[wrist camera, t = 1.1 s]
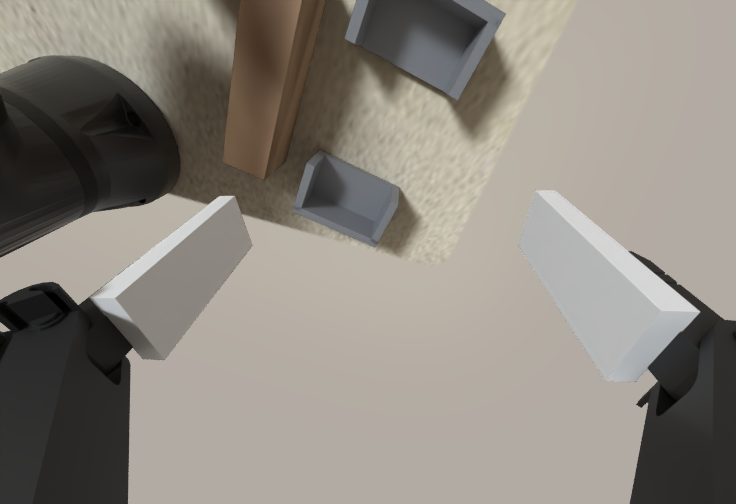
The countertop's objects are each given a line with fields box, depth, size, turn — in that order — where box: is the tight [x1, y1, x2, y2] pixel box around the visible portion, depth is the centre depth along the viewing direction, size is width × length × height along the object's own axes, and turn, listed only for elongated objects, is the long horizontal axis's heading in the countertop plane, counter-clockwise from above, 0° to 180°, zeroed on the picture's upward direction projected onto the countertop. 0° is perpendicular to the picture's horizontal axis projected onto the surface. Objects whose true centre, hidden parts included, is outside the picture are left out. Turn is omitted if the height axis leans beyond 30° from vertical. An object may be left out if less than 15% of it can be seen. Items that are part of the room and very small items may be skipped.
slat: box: [222, 0, 326, 180], centre depth 24 cm, size 4×16×6 cm, turn 156°
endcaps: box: [292, 0, 506, 247], centre depth 26 cm, size 10×21×5 cm, turn 156°
